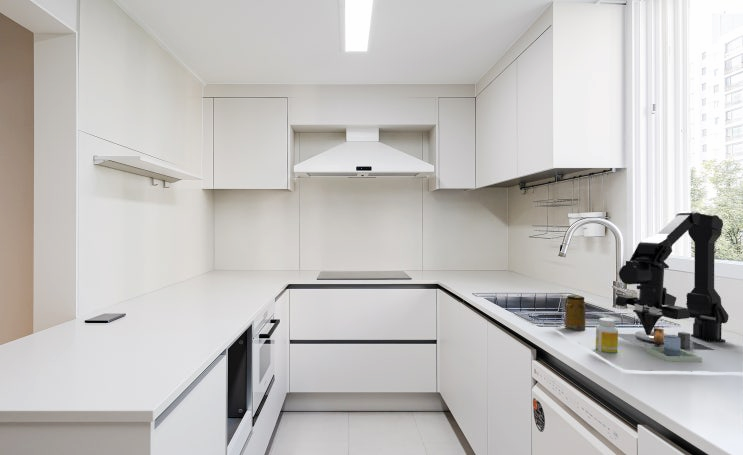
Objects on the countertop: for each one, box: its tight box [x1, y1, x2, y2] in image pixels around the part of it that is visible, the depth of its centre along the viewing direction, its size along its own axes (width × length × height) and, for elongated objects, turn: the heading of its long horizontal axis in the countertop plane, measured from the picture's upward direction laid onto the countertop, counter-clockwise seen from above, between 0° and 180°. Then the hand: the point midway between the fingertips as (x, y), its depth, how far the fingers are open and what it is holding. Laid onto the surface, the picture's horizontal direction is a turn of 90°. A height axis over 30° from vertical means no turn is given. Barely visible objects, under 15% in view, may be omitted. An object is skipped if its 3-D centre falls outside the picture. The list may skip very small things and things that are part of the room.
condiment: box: [564, 294, 586, 332], centre depth 139 cm, size 7×8×12 cm
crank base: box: [618, 331, 715, 351], centre depth 126 cm, size 20×16×5 cm
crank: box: [634, 327, 670, 344], centre depth 126 cm, size 15×11×5 cm
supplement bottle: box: [595, 317, 619, 354], centre depth 116 cm, size 5×5×10 cm
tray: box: [644, 347, 703, 363], centre depth 112 cm, size 9×9×2 cm
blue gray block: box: [663, 334, 681, 356], centre depth 112 cm, size 4×4×6 cm
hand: (648, 335), depth 122 cm, fingers closed
